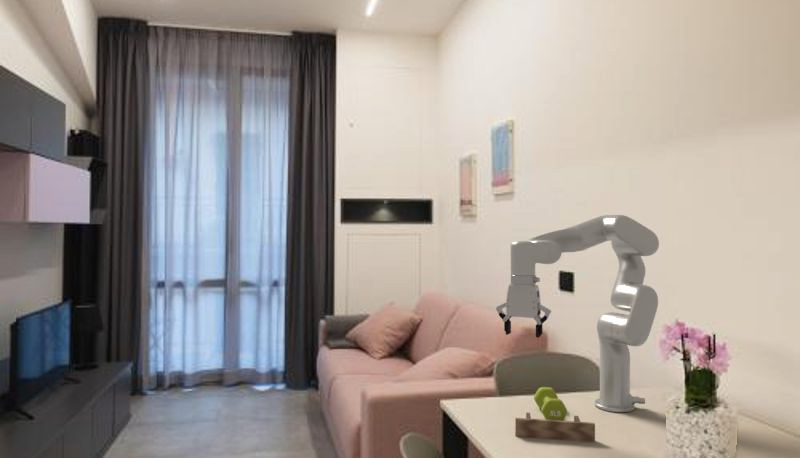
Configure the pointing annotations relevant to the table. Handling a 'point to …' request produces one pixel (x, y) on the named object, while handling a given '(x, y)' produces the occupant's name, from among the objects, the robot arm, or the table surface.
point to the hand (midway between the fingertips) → (523, 335)
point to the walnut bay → (555, 429)
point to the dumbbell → (550, 404)
